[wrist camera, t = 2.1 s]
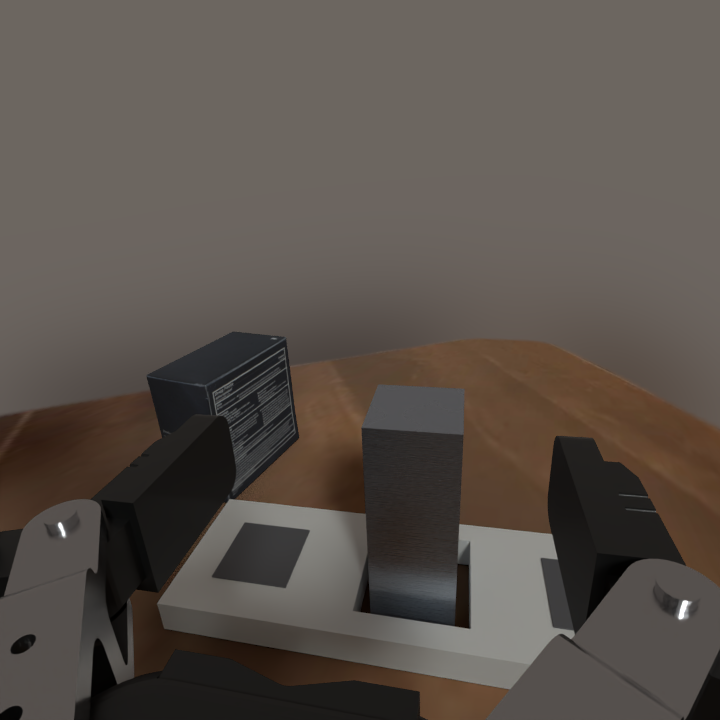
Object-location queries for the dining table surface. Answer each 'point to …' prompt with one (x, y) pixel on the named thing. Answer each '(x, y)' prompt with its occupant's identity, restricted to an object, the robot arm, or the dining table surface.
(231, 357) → the small box
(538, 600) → the white slotted plate
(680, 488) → the dining table surface
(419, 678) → the dining table surface
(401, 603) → the brushed metal pillar
